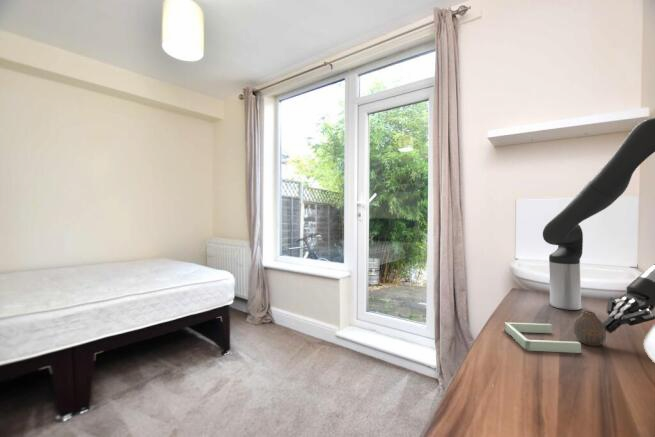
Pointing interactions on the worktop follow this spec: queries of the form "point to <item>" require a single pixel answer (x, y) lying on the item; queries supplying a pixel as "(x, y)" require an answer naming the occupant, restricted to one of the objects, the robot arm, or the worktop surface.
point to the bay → (539, 345)
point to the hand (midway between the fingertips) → (605, 329)
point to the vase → (589, 329)
